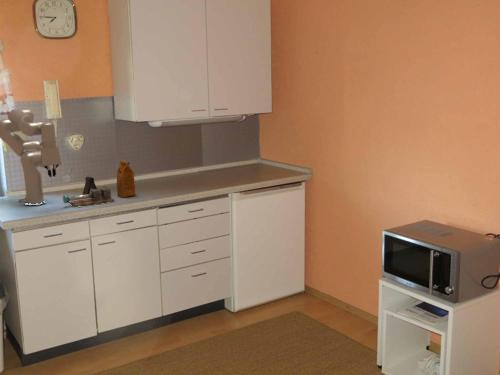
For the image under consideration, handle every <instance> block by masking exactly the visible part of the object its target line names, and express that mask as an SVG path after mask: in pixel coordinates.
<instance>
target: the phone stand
mask: <svg viewBox="0 0 500 375" xmlns="http://www.w3.org/2000/svg"><path fill="white" fill-rule="evenodd" d="M84 179H85V180H84V181H85V183H84V187H83V191H82V195H86V194H91V189H98V188H97V185H96V183H95V178H94V177H91V176H85V178H84Z"/></svg>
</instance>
